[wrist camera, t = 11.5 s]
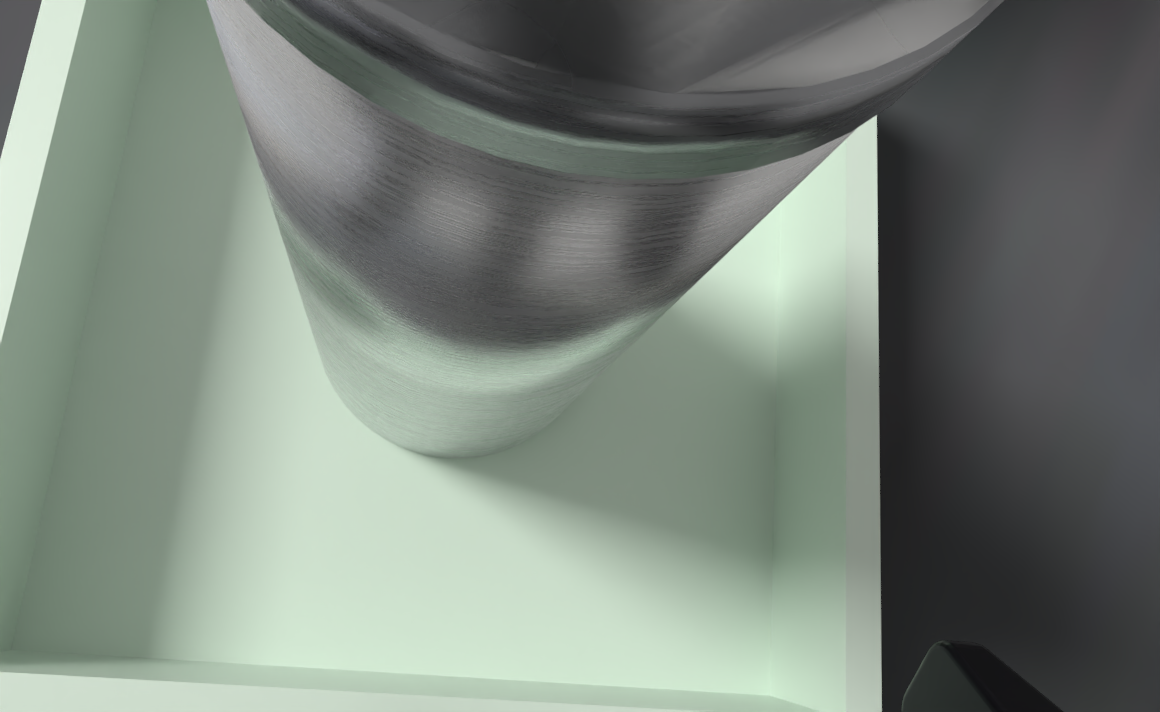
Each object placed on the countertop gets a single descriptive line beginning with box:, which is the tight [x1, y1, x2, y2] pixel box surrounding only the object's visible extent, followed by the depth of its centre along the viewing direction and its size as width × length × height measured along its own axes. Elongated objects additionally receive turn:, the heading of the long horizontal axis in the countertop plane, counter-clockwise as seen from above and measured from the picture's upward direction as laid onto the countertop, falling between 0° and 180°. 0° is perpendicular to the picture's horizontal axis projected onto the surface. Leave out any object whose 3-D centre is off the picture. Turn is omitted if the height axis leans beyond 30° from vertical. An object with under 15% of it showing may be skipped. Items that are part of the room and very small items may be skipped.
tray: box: [0, 0, 882, 712], centre depth 16 cm, size 14×14×4 cm
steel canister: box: [206, 0, 1004, 459], centre depth 11 cm, size 5×5×13 cm
